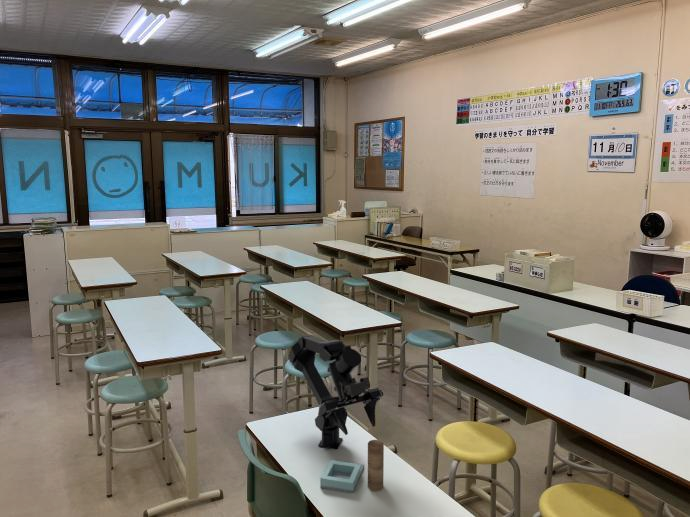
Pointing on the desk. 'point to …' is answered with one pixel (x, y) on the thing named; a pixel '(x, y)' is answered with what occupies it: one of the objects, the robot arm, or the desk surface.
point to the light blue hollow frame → (341, 476)
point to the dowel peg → (375, 465)
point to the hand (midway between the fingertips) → (360, 430)
